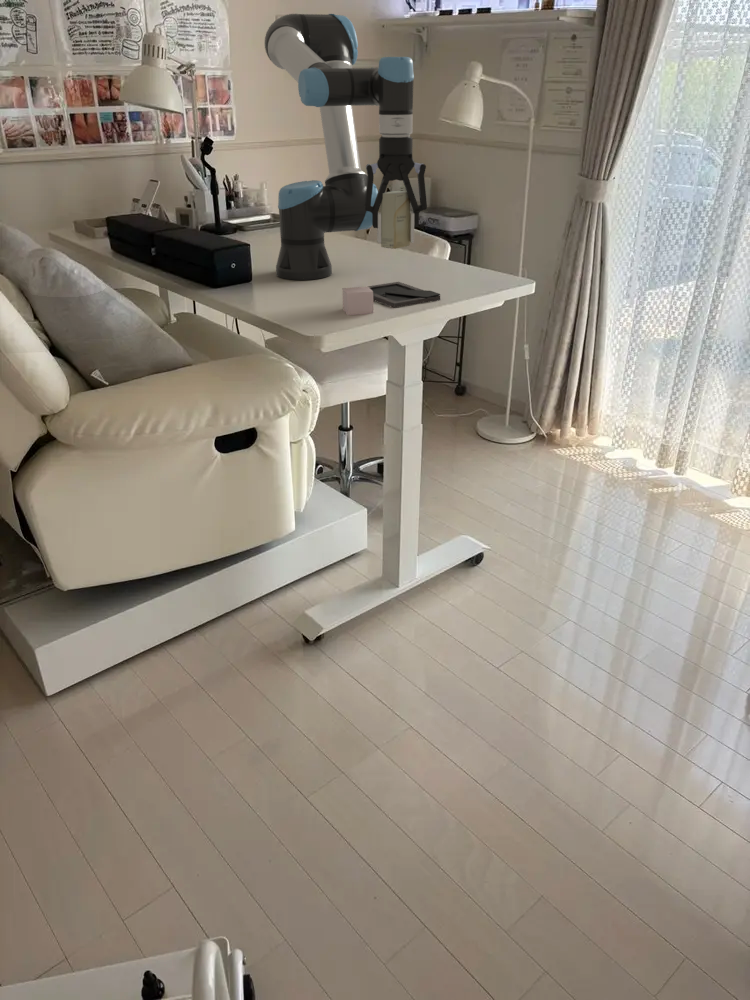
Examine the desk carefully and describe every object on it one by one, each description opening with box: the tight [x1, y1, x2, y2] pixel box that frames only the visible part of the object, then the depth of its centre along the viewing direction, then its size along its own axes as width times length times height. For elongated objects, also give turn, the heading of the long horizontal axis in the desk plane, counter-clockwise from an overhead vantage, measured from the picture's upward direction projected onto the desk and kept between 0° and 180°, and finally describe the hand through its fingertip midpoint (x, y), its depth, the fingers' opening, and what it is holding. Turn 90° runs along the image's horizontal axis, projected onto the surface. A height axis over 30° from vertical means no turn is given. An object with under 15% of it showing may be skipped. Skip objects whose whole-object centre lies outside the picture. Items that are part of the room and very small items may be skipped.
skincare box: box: [380, 190, 411, 250], centre depth 185 cm, size 6×4×12 cm
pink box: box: [341, 285, 374, 316], centre depth 180 cm, size 6×5×5 cm
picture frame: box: [368, 281, 441, 309], centre depth 193 cm, size 13×2×18 cm
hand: (395, 241), depth 187 cm, fingers closed on skincare box, 7 cm apart
